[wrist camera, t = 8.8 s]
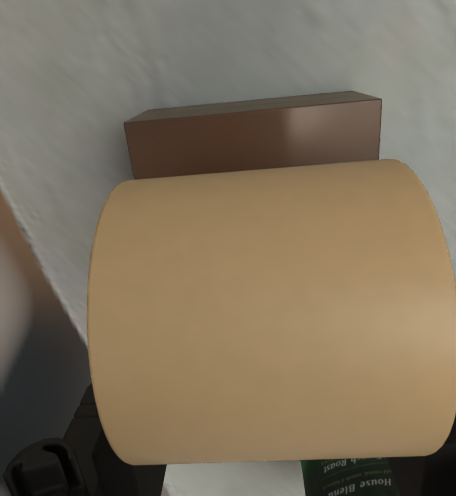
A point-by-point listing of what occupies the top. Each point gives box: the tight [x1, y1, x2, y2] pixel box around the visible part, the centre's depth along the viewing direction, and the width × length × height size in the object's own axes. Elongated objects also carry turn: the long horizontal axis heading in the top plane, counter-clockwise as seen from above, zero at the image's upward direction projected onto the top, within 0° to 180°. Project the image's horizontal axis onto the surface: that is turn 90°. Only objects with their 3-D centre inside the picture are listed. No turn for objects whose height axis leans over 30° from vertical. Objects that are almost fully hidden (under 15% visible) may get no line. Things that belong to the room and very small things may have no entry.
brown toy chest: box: [124, 91, 382, 180], centre depth 23 cm, size 10×12×6 cm
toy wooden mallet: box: [87, 159, 456, 465], centre depth 14 cm, size 16×6×6 cm
